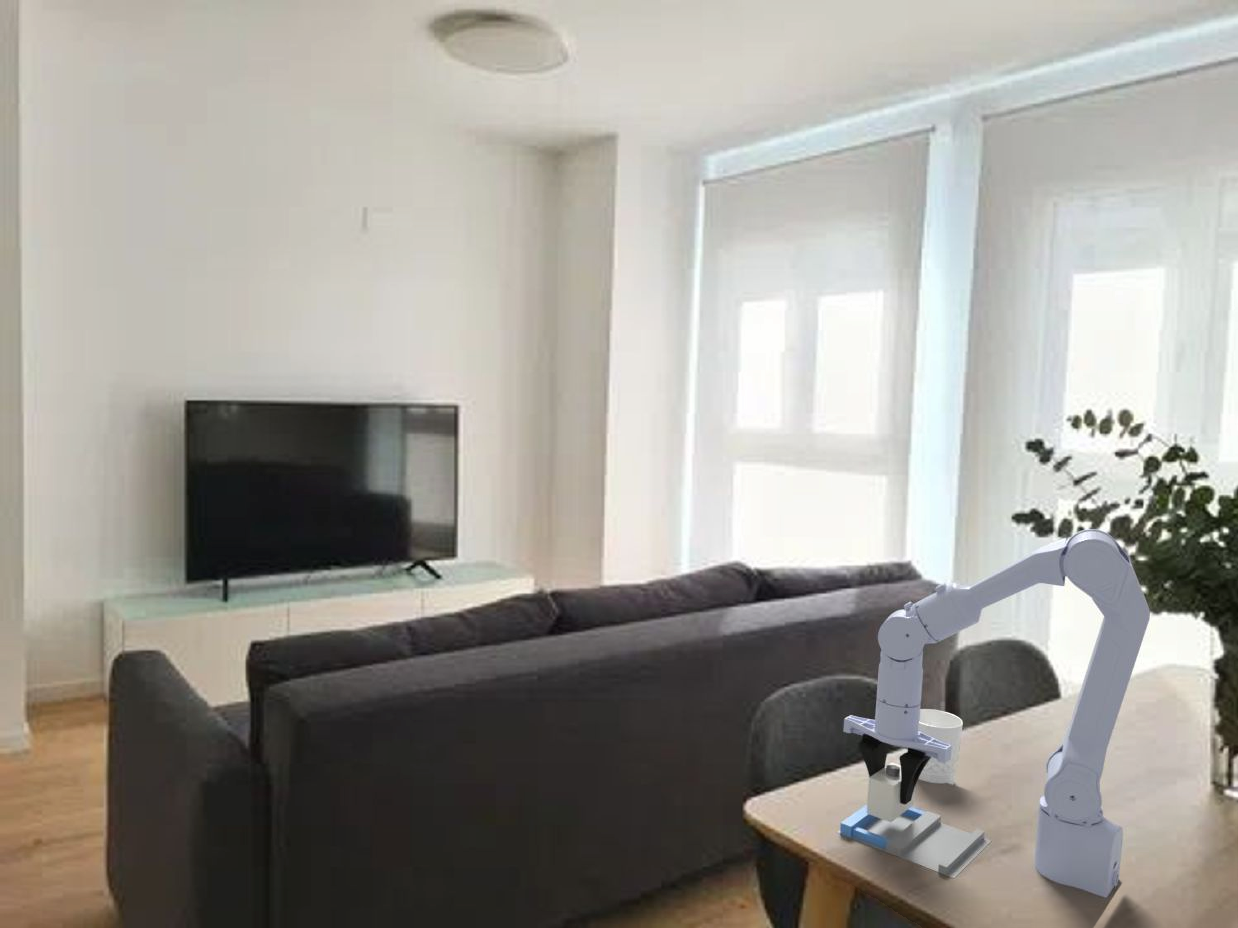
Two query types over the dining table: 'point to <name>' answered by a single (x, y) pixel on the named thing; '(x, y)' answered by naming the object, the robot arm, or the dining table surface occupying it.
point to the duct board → (917, 839)
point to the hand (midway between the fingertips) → (891, 796)
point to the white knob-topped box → (886, 794)
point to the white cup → (945, 731)
